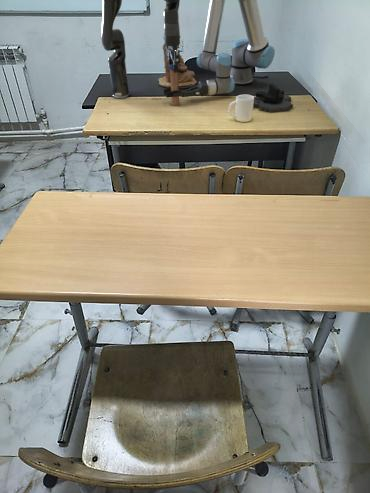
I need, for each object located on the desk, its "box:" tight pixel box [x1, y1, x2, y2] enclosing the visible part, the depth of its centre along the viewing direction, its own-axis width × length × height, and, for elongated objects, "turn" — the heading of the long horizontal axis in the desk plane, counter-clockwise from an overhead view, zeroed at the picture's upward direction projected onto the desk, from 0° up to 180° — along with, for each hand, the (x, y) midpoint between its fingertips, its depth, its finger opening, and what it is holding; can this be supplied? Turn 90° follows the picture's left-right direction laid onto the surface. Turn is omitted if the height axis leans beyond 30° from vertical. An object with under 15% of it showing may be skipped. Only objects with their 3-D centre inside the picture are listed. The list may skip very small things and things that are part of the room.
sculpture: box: [157, 36, 198, 89], centre depth 214 cm, size 27×24×30 cm
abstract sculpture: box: [253, 83, 294, 113], centre depth 185 cm, size 25×9×20 cm
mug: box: [227, 94, 255, 123], centre depth 170 cm, size 12×8×10 cm
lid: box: [169, 64, 179, 70], centre depth 182 cm, size 5×5×2 cm
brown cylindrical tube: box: [170, 70, 180, 106], centre depth 187 cm, size 4×4×19 cm
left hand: (173, 70), depth 182 cm, fingers open, 7 cm apart
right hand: (165, 93), depth 188 cm, fingers closed on brown cylindrical tube, 4 cm apart
